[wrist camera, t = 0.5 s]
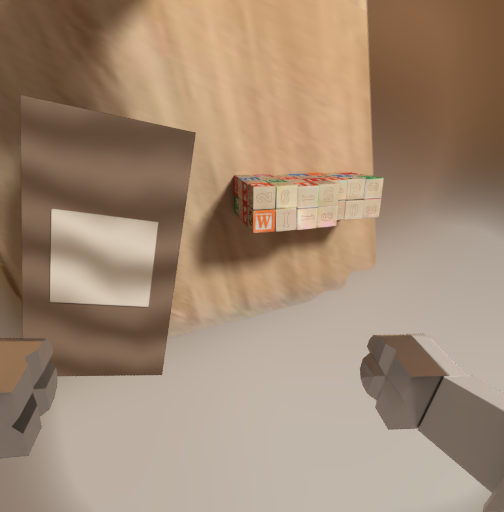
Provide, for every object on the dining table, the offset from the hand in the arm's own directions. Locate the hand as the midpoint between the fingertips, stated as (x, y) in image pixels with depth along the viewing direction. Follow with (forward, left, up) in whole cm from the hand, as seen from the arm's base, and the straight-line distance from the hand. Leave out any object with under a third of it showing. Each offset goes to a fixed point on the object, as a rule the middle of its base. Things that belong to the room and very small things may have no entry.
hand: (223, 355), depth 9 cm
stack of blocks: (+4, +21, -46) cm, 51 cm away
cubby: (+7, -8, -46) cm, 47 cm away
